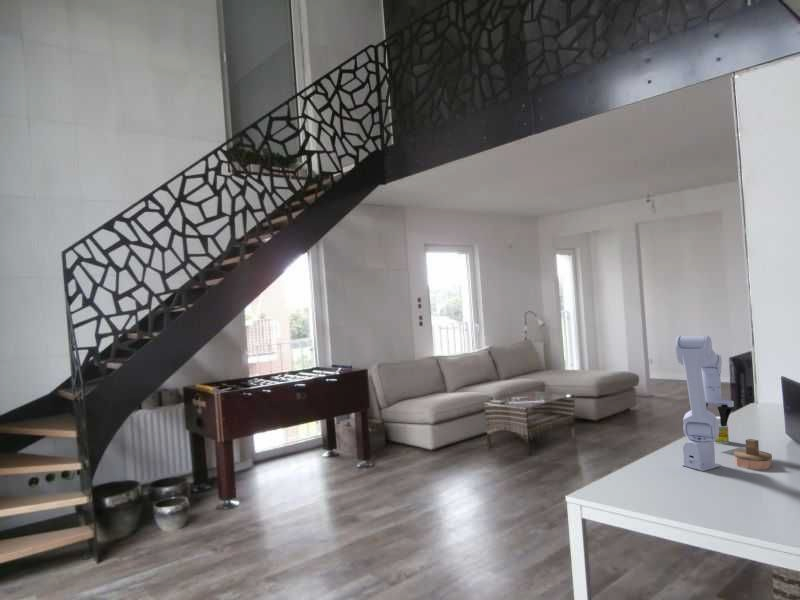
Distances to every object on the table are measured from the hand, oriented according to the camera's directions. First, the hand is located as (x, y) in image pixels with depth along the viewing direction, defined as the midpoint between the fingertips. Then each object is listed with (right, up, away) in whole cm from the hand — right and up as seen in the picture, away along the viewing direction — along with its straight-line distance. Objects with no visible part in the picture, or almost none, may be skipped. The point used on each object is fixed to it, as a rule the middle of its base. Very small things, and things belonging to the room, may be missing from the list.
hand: (713, 424), depth 202 cm
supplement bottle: (+9, -10, +11) cm, 17 cm away
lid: (+3, -7, -18) cm, 19 cm away
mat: (+9, -10, -5) cm, 14 cm away
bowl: (+3, -10, -18) cm, 21 cm away
